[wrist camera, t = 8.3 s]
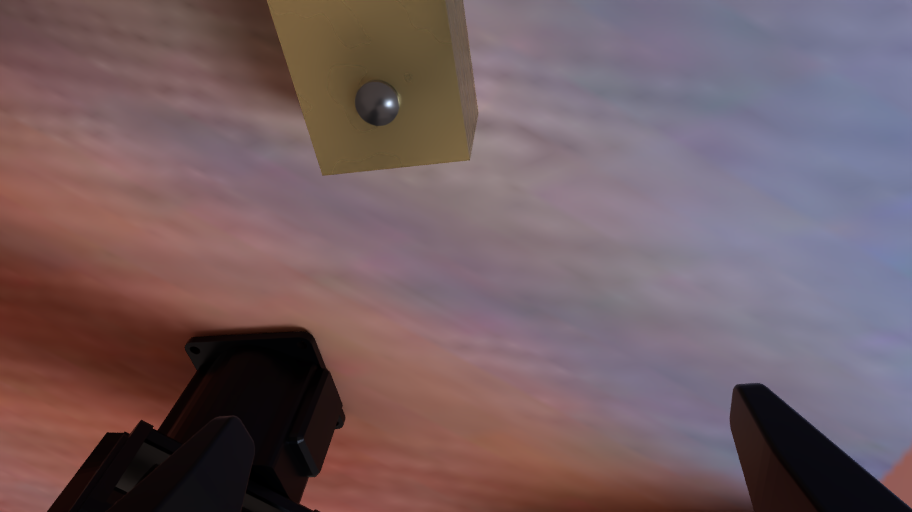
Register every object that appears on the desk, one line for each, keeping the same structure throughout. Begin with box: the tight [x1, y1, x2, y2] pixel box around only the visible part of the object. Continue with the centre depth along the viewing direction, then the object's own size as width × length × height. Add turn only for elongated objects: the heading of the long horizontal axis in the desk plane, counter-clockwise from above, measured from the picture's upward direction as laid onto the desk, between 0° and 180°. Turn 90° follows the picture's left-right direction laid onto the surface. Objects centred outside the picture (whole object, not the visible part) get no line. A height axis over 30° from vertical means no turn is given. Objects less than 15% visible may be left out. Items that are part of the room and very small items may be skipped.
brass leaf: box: [267, 0, 478, 176], centre depth 15 cm, size 4×8×4 cm, turn 9°
